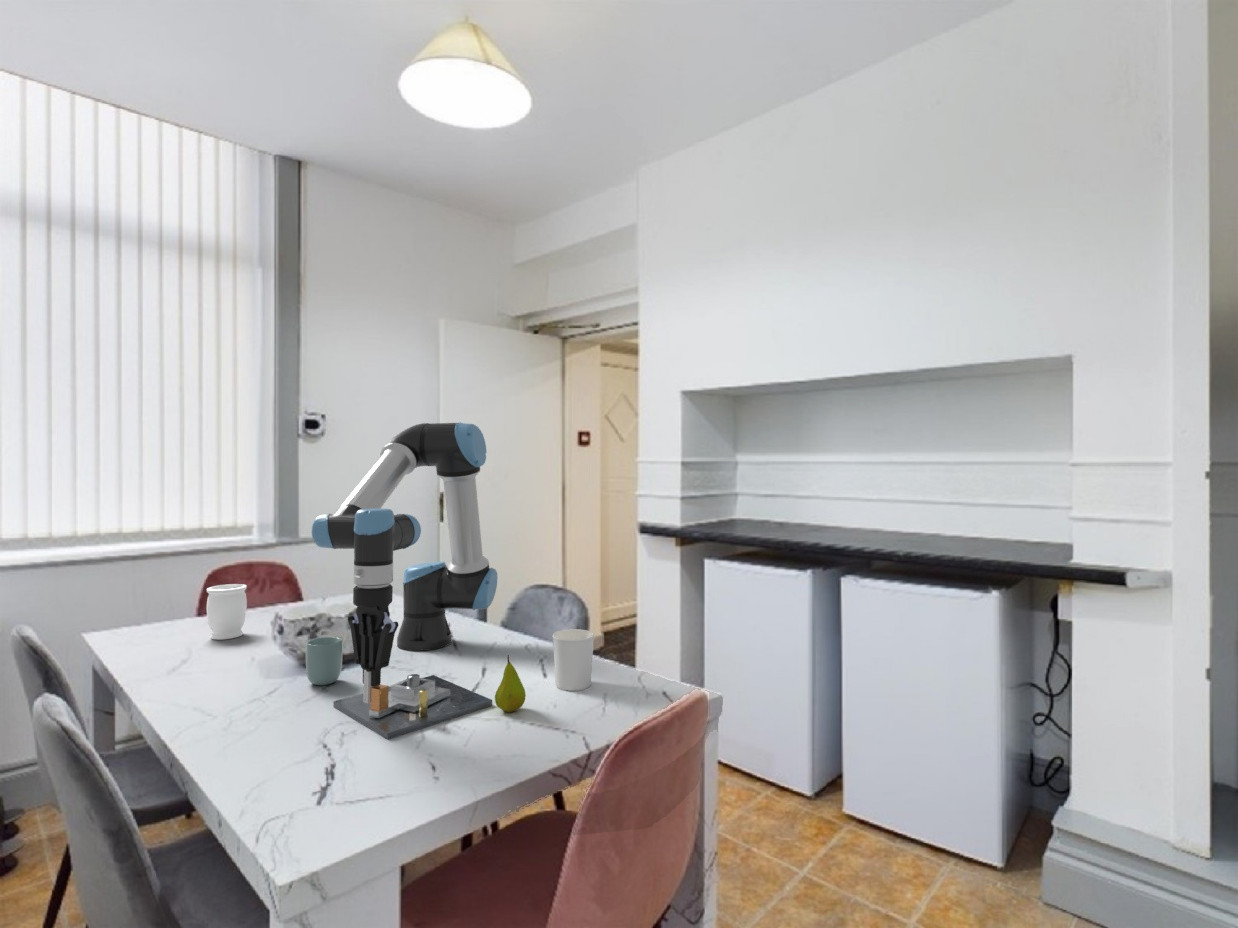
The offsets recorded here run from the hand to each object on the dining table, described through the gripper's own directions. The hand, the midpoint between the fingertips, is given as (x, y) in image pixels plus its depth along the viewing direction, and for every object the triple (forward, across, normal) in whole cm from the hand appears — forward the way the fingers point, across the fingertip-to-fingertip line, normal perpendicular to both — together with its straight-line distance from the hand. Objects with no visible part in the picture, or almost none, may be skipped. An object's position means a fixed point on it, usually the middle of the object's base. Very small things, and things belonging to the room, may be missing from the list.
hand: (371, 700), depth 133 cm
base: (+4, +1, +10) cm, 11 cm away
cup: (+4, -29, +9) cm, 30 cm away
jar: (+5, -91, +20) cm, 93 cm away
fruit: (+4, +20, +19) cm, 28 cm away
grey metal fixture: (+2, +1, +7) cm, 8 cm away
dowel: (+3, +9, +5) cm, 11 cm away
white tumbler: (+4, +23, +39) cm, 45 cm away
